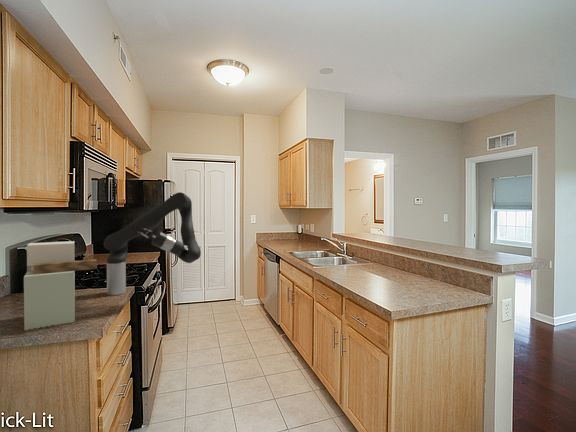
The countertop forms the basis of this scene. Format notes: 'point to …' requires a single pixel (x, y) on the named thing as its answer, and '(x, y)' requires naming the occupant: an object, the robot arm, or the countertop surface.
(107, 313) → the countertop surface
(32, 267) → the walnut block
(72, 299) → the stepped stand
